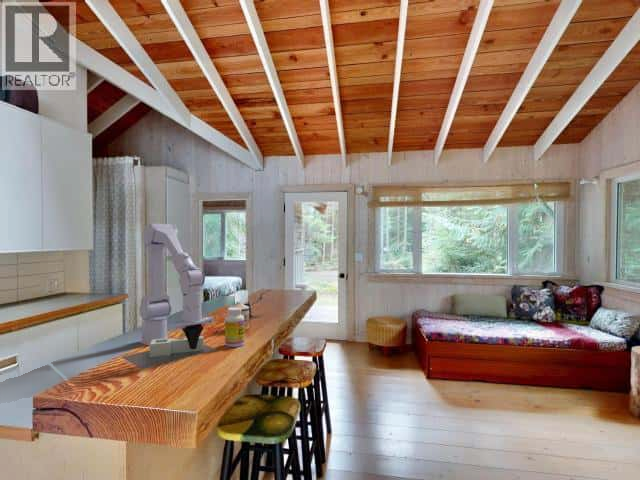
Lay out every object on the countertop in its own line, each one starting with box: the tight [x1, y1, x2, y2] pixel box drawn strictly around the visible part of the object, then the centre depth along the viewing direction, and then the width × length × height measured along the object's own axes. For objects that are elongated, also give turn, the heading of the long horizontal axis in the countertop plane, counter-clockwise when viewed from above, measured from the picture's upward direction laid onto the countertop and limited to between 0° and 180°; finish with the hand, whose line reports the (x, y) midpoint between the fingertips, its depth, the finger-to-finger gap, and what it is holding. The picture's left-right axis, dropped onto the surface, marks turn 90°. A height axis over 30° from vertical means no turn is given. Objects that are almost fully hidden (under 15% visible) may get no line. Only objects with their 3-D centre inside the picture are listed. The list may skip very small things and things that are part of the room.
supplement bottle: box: [224, 307, 245, 348], centre depth 126 cm, size 7×7×13 cm
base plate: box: [121, 343, 218, 369], centre depth 115 cm, size 17×24×1 cm
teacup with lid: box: [227, 300, 250, 331], centre depth 151 cm, size 12×9×12 cm
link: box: [149, 335, 204, 357], centre depth 117 cm, size 16×6×4 cm, turn 107°
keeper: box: [179, 331, 187, 338], centre depth 120 cm, size 2×6×6 cm, turn 2°
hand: (193, 348), depth 115 cm, fingers closed
